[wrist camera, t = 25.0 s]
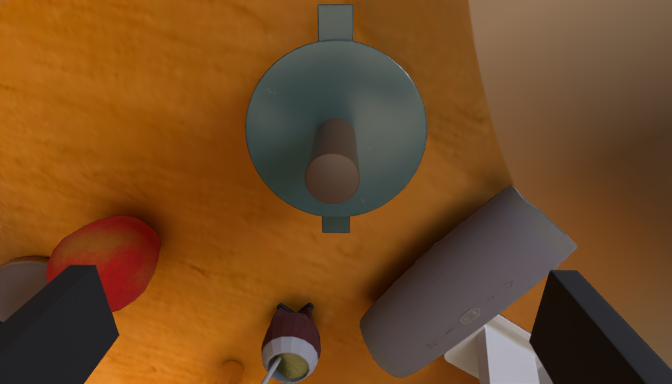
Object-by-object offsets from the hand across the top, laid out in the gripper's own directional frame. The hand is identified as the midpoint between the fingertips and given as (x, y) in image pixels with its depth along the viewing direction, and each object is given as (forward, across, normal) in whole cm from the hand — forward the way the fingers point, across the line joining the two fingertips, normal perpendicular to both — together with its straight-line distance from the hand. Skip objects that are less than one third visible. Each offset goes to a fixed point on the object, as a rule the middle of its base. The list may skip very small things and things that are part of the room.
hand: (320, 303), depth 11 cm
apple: (+29, -24, -15) cm, 40 cm away
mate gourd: (+29, -6, -28) cm, 41 cm away
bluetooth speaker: (+29, +13, -18) cm, 36 cm away
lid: (+18, 0, 0) cm, 18 cm away
